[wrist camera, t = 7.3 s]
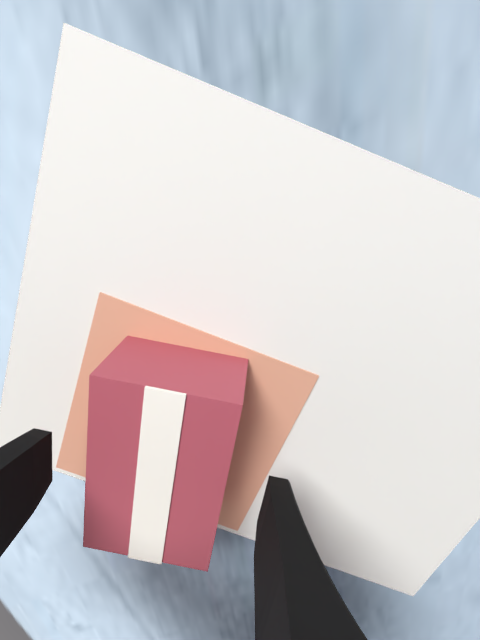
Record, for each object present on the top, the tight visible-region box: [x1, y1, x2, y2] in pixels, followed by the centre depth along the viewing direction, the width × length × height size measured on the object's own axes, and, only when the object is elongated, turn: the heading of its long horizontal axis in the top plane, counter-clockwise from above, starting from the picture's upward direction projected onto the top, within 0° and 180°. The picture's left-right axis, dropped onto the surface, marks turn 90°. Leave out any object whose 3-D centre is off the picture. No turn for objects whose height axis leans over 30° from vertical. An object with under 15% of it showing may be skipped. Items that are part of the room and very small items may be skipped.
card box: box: [83, 335, 248, 572], centre depth 13 cm, size 7×4×3 cm, turn 170°
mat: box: [0, 23, 480, 596], centre depth 14 cm, size 20×16×1 cm
